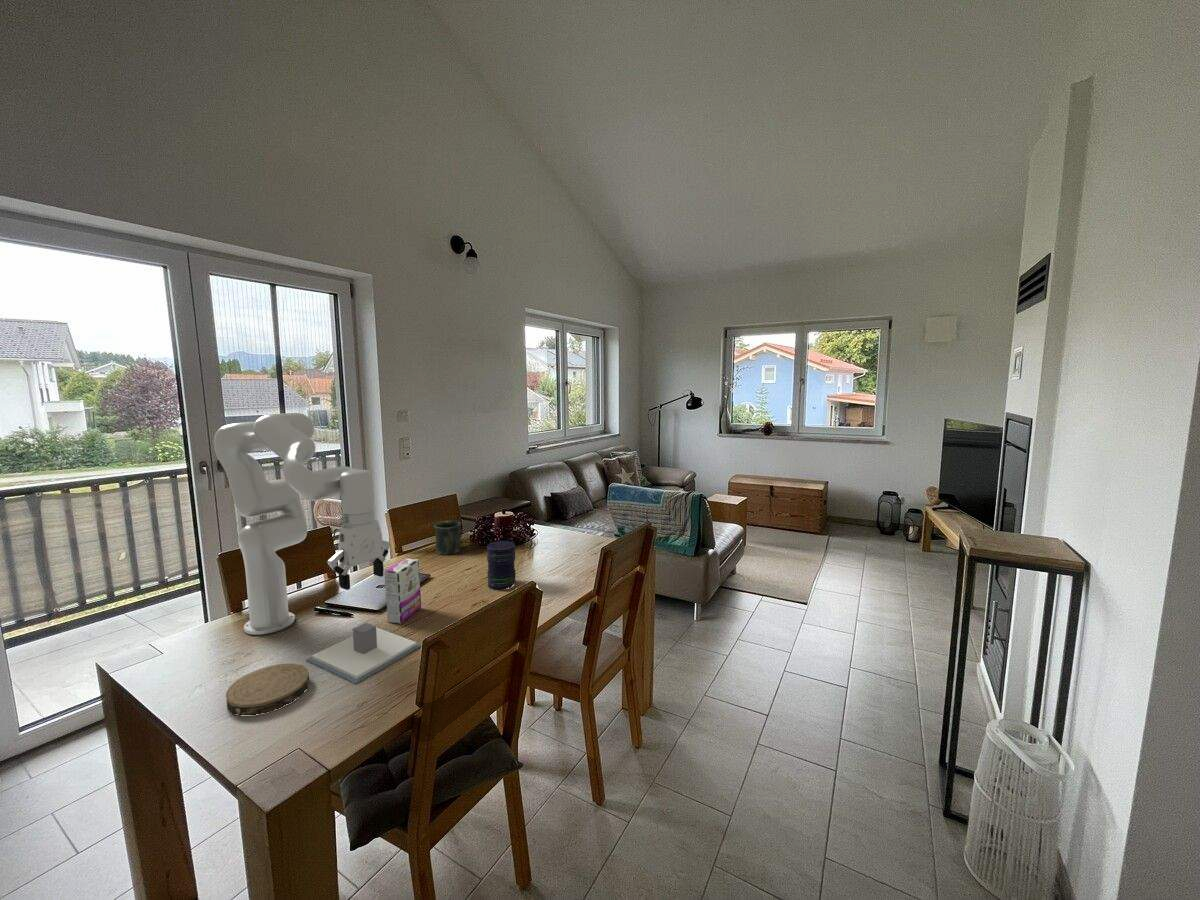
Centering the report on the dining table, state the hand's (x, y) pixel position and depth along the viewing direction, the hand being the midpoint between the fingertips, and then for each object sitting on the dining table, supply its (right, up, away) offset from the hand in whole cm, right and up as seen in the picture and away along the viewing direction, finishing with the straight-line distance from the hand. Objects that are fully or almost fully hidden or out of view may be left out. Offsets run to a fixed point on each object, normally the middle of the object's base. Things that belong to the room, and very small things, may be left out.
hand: (362, 581), depth 128 cm
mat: (0, -20, +3) cm, 20 cm away
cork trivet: (-14, -23, -15) cm, 30 cm away
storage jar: (+27, -14, +48) cm, 57 cm away
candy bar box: (+1, -17, +24) cm, 30 cm away
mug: (-2, -9, +84) cm, 84 cm away
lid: (0, -19, +3) cm, 20 cm away
